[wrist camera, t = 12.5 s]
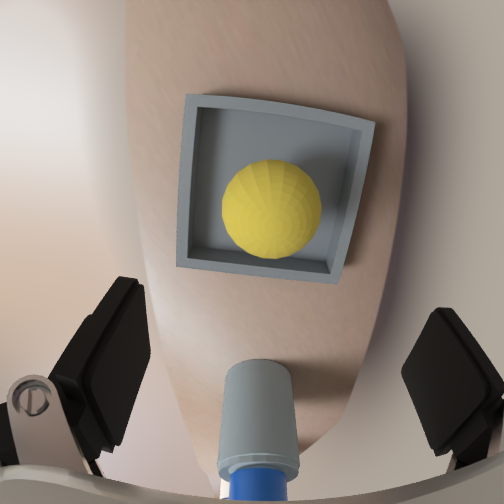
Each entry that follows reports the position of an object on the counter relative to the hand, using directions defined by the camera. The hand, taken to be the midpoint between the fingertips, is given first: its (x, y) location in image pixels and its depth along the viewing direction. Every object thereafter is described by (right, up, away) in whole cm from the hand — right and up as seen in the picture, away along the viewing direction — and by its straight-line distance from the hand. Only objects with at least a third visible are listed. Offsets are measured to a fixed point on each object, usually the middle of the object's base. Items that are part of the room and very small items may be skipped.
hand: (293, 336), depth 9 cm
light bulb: (0, +8, +17) cm, 20 cm away
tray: (0, +9, +18) cm, 20 cm away
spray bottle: (0, -15, +30) cm, 33 cm away
